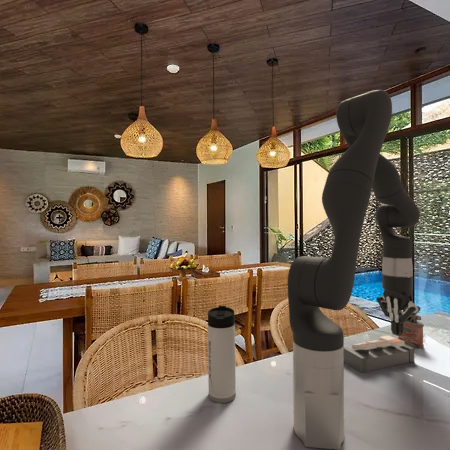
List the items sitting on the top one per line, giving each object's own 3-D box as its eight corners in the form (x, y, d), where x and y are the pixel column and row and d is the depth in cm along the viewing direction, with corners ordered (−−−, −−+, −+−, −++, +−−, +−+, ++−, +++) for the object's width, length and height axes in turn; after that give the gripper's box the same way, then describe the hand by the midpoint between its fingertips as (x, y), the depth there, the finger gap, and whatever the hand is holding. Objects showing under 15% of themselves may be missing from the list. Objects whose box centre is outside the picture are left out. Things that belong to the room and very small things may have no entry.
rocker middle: (375, 344, 90) (374, 339, 91) (391, 345, 85) (389, 340, 86) (366, 346, 89) (365, 341, 89) (381, 347, 84) (380, 342, 84)
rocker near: (362, 347, 89) (361, 342, 89) (376, 347, 84) (375, 342, 84) (352, 349, 87) (351, 344, 88) (366, 349, 82) (365, 344, 83)
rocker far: (388, 339, 92) (387, 335, 92) (404, 345, 87) (404, 340, 87) (379, 341, 91) (379, 336, 91) (395, 347, 86) (395, 342, 86)
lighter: (395, 340, 102) (395, 310, 102) (402, 338, 104) (401, 309, 103) (419, 349, 95) (419, 317, 95) (426, 347, 96) (426, 315, 96)
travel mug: (236, 388, 74) (235, 305, 74) (234, 404, 68) (233, 313, 67) (210, 387, 75) (209, 305, 75) (206, 403, 68) (205, 313, 68)
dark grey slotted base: (392, 351, 94) (391, 338, 94) (414, 361, 87) (414, 347, 87) (342, 360, 88) (342, 346, 88) (362, 372, 81) (361, 357, 81)
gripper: (368, 270, 92) (368, 328, 92) (407, 278, 79) (408, 345, 79) (387, 269, 94) (388, 325, 94) (429, 276, 82) (429, 341, 82)
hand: (397, 334), depth 87 cm, fingers closed
